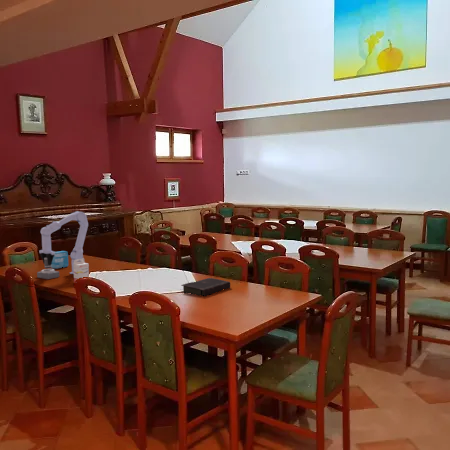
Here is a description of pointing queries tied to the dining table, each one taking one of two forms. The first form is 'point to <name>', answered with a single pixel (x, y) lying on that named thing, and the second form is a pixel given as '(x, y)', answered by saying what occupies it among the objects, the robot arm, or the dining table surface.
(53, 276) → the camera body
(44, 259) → the lens
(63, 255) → the data package
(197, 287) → the diary
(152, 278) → the dining table surface
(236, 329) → the dining table surface
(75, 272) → the ink cartridge box
